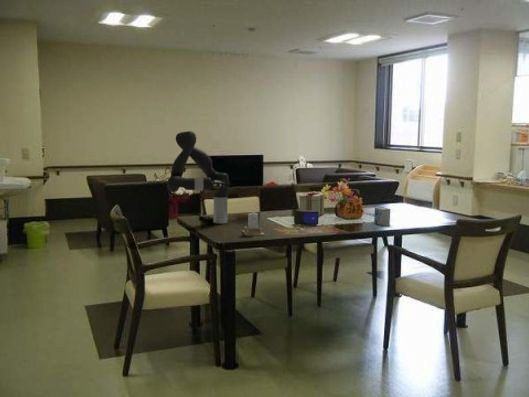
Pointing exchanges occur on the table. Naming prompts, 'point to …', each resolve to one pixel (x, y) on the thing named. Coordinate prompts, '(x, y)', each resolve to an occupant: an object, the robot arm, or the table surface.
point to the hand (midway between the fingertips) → (229, 183)
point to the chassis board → (253, 231)
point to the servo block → (253, 221)
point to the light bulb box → (382, 216)
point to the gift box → (312, 202)
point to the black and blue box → (306, 217)
